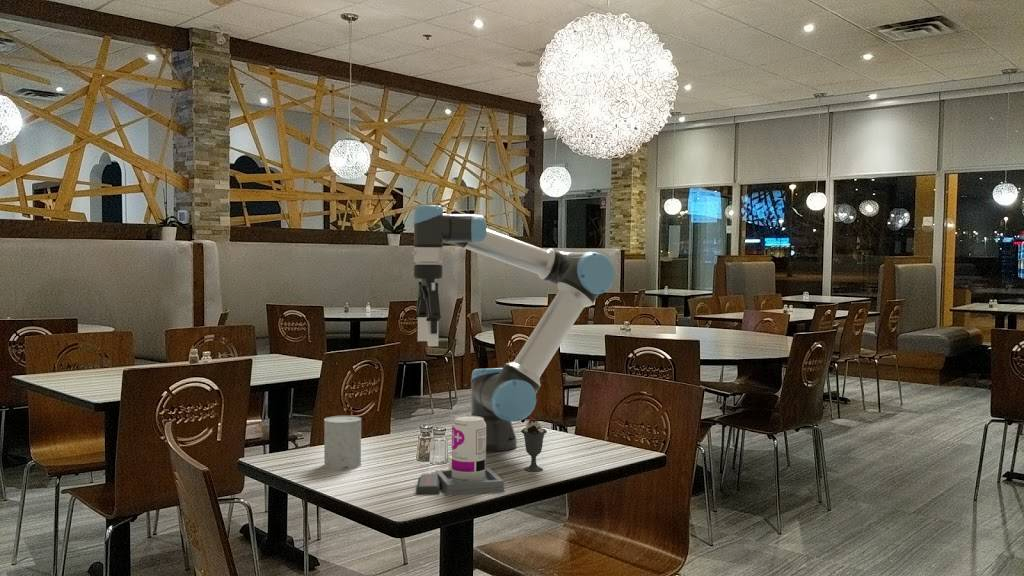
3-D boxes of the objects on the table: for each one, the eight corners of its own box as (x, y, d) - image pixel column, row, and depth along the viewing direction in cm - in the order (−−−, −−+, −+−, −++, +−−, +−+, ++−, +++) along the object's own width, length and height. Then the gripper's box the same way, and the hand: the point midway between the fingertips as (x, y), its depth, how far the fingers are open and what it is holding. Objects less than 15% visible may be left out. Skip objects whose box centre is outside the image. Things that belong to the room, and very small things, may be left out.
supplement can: (458, 486, 190) (459, 422, 189) (446, 478, 197) (447, 416, 197) (490, 483, 193) (491, 420, 193) (477, 474, 201) (478, 414, 200)
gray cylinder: (352, 471, 207) (352, 423, 207) (317, 469, 209) (317, 421, 209) (366, 462, 217) (366, 416, 216) (333, 460, 219) (333, 414, 218)
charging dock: (483, 472, 207) (484, 452, 207) (504, 491, 190) (504, 470, 190) (431, 476, 203) (431, 456, 203) (447, 496, 186) (447, 474, 186)
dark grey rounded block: (416, 497, 187) (416, 485, 187) (418, 483, 199) (418, 471, 199) (439, 496, 187) (439, 485, 187) (440, 482, 199) (440, 471, 199)
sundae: (532, 464, 216) (533, 408, 215) (551, 469, 211) (552, 412, 210) (515, 469, 211) (515, 411, 211) (533, 474, 206) (534, 415, 206)
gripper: (406, 263, 227) (405, 339, 227) (423, 264, 203) (422, 348, 204) (432, 263, 229) (432, 338, 230) (452, 264, 205) (452, 348, 206)
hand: (427, 343), depth 217 cm, fingers open, 13 cm apart
